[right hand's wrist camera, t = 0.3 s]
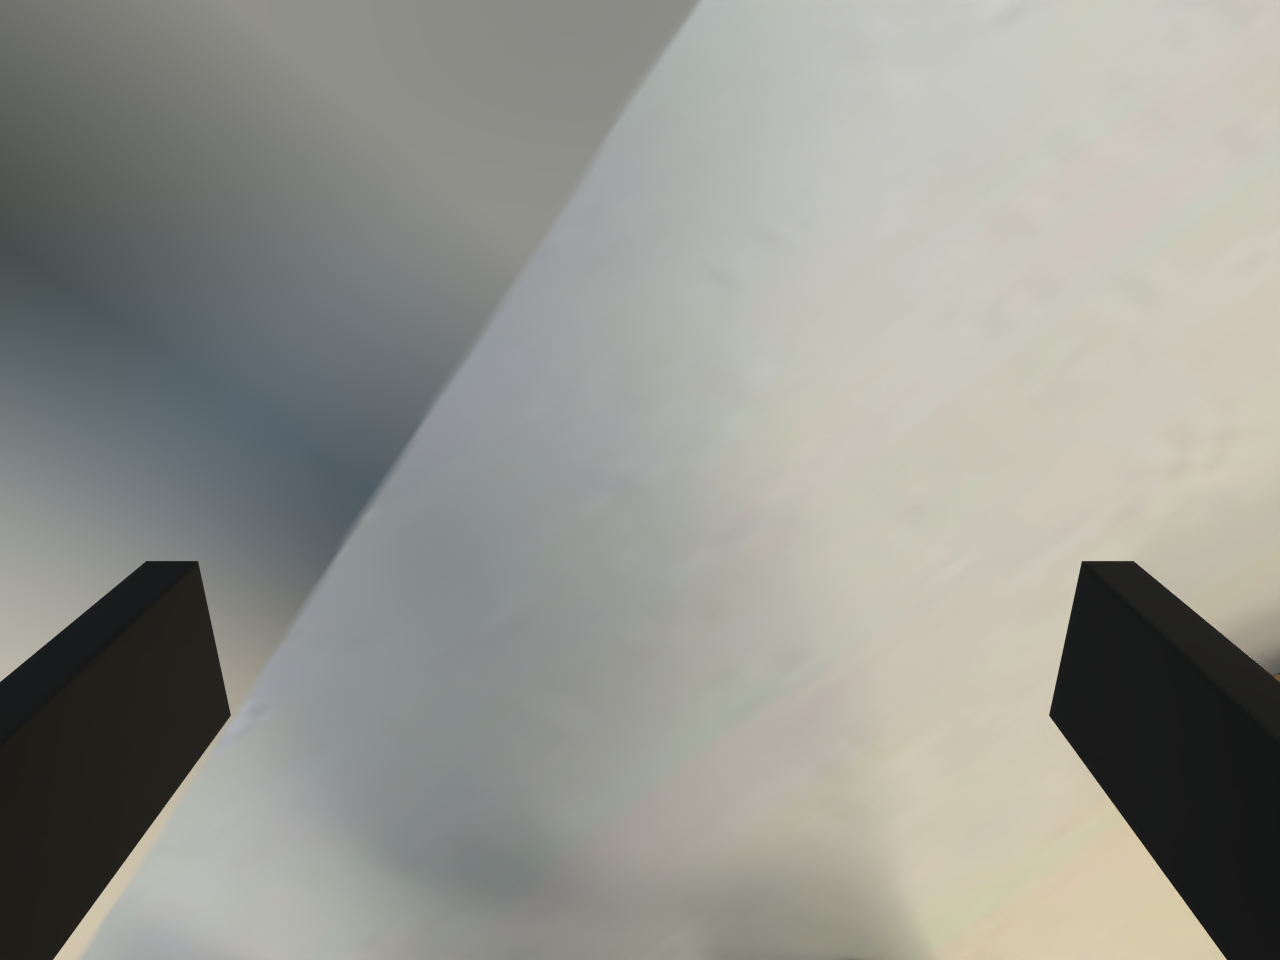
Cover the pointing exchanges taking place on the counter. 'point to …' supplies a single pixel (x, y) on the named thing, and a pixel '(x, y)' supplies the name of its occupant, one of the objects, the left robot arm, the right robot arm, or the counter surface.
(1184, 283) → the counter surface
